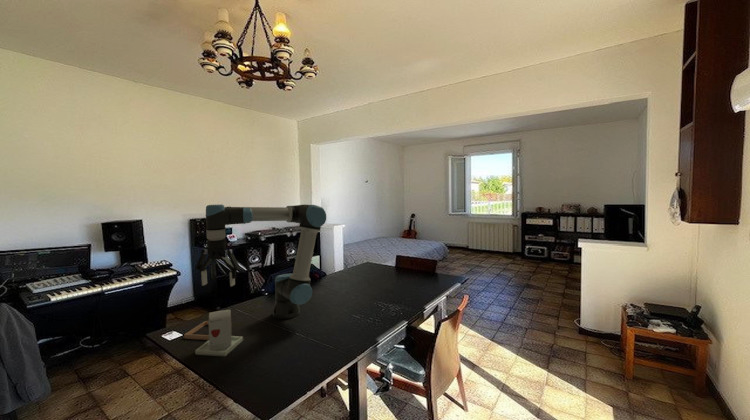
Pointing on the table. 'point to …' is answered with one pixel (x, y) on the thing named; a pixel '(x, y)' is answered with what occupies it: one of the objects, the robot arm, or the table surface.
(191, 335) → the frame
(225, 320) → the supplement box
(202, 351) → the tray
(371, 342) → the table surface
